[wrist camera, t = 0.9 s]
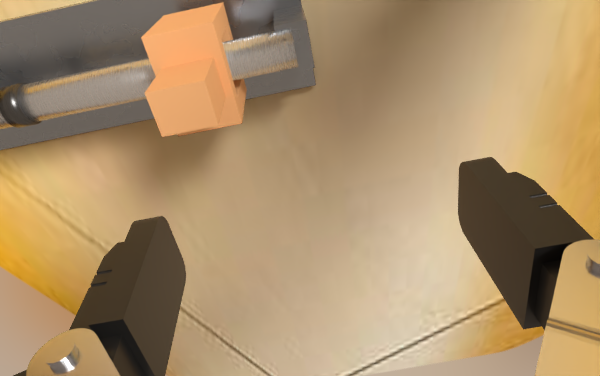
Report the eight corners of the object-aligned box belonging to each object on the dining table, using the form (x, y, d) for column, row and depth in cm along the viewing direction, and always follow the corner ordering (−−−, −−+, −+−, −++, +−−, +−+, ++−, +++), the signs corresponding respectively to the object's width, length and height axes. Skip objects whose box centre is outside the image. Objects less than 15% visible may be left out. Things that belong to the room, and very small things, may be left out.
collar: (223, 2, 29) (203, 40, 20) (246, 89, 32) (237, 154, 23) (163, 15, 29) (119, 58, 21) (193, 100, 32) (165, 168, 24)
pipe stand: (292, -45, 30) (297, -33, 24) (314, 81, 35) (324, 118, 29) (-64, 35, 32) (-146, 66, 25) (4, 145, 36) (-51, 194, 30)
